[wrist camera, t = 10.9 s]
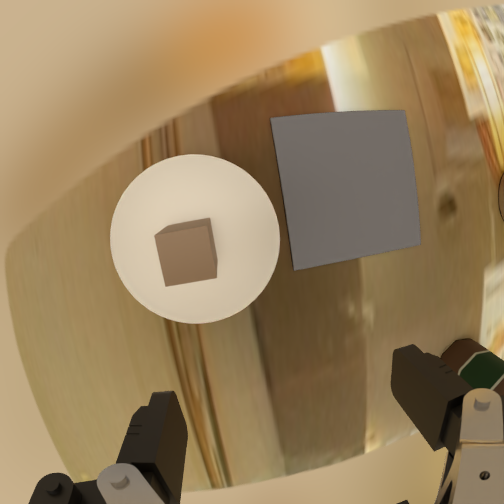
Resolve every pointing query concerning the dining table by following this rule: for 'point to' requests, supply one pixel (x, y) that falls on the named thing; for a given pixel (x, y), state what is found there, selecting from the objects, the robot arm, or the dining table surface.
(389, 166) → the mat
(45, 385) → the dining table surface
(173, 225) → the lid
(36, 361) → the dining table surface
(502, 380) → the beer bottle
